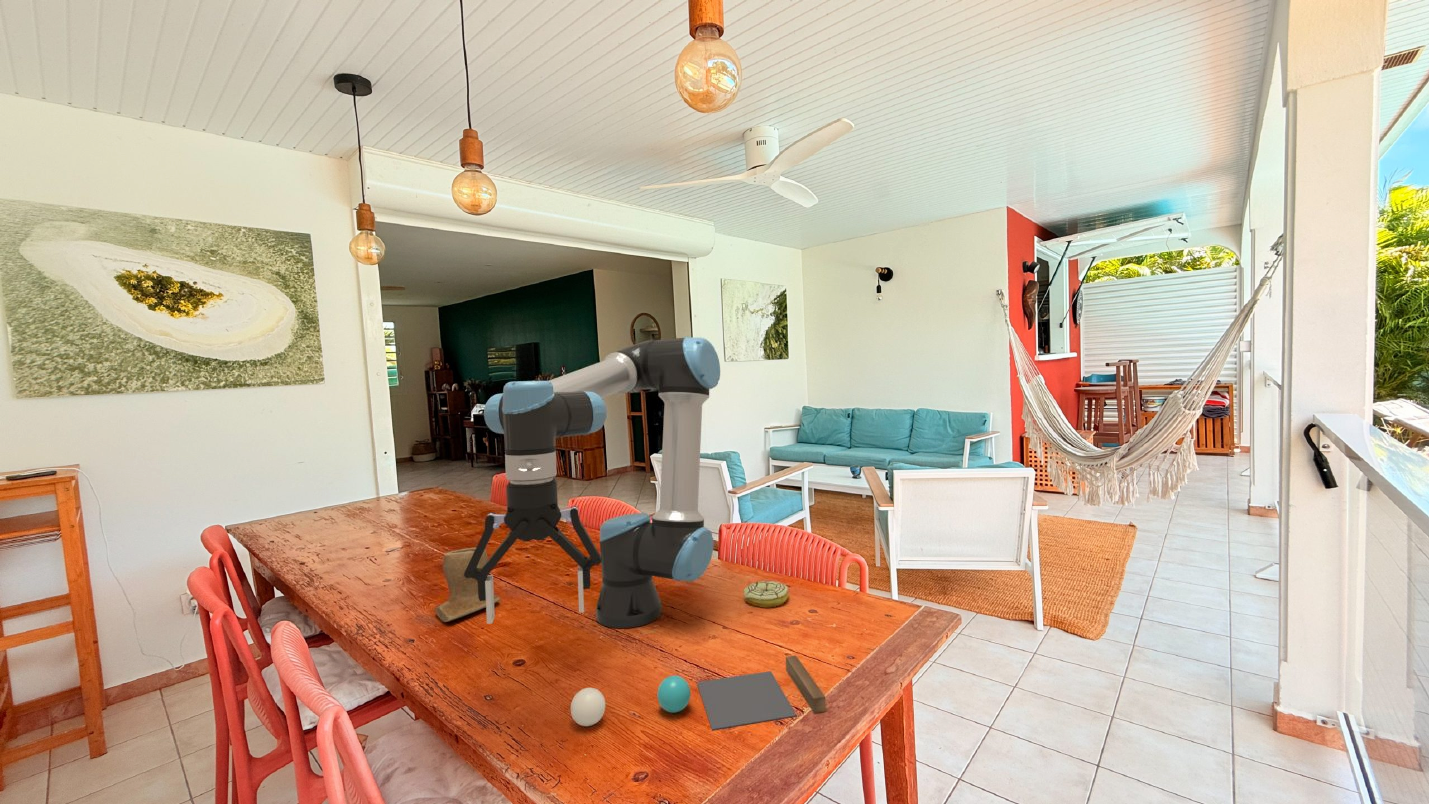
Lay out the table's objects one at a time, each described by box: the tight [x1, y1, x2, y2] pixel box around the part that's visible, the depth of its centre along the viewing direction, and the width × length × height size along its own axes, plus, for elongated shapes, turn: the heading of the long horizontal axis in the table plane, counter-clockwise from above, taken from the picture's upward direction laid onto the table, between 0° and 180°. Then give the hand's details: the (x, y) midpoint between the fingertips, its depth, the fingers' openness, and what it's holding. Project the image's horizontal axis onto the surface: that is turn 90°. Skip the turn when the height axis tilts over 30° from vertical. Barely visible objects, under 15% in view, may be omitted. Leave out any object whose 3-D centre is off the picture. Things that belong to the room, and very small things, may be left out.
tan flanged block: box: [434, 547, 501, 623], centre depth 138 cm, size 15×12×15 cm
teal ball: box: [657, 675, 691, 713], centre depth 95 cm, size 6×6×6 cm
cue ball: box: [570, 687, 606, 727], centre depth 92 cm, size 6×6×6 cm
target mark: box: [696, 670, 798, 731], centre depth 97 cm, size 14×14×1 cm
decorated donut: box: [743, 580, 789, 609], centre depth 138 cm, size 10×11×4 cm
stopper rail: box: [785, 654, 827, 714], centre depth 99 cm, size 2×14×2 cm, turn 12°
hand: (537, 614), depth 89 cm, fingers open, 13 cm apart
